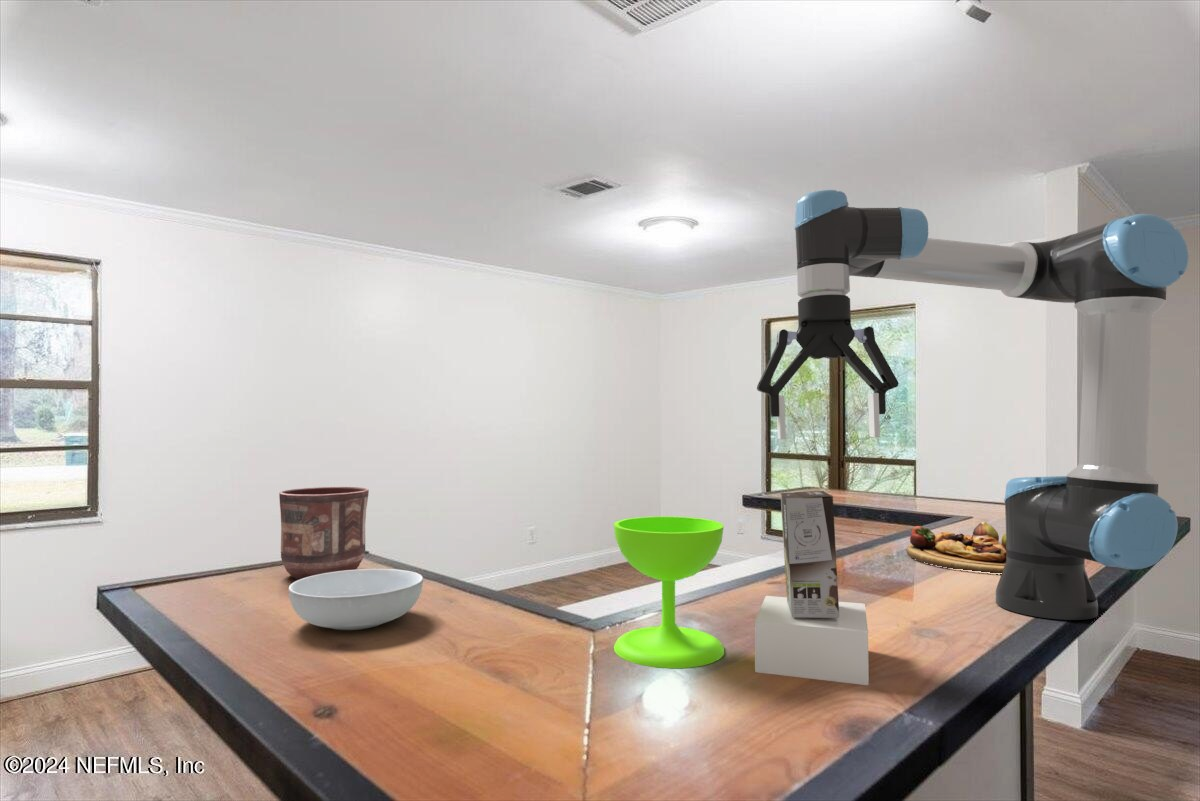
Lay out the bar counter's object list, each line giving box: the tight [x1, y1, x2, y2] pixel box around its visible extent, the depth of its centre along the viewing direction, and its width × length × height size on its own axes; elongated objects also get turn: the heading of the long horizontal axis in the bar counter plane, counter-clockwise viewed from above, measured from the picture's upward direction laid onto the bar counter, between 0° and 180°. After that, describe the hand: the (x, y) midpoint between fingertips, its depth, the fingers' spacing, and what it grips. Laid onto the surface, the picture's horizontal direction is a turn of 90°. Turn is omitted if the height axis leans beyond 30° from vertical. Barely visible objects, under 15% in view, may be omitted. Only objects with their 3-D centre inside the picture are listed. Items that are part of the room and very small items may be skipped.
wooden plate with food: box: [905, 521, 1006, 573], centre depth 164 cm, size 32×32×8 cm
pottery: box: [278, 486, 370, 581], centre depth 150 cm, size 18×18×18 cm
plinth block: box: [754, 595, 870, 686], centre depth 97 cm, size 14×14×7 cm
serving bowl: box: [288, 568, 424, 631], centre depth 115 cm, size 21×21×7 cm
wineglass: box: [613, 515, 725, 669], centre depth 102 cm, size 16×16×18 cm
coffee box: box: [780, 490, 840, 618], centre depth 98 cm, size 9×6×16 cm
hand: (827, 438), depth 105 cm, fingers open, 13 cm apart
